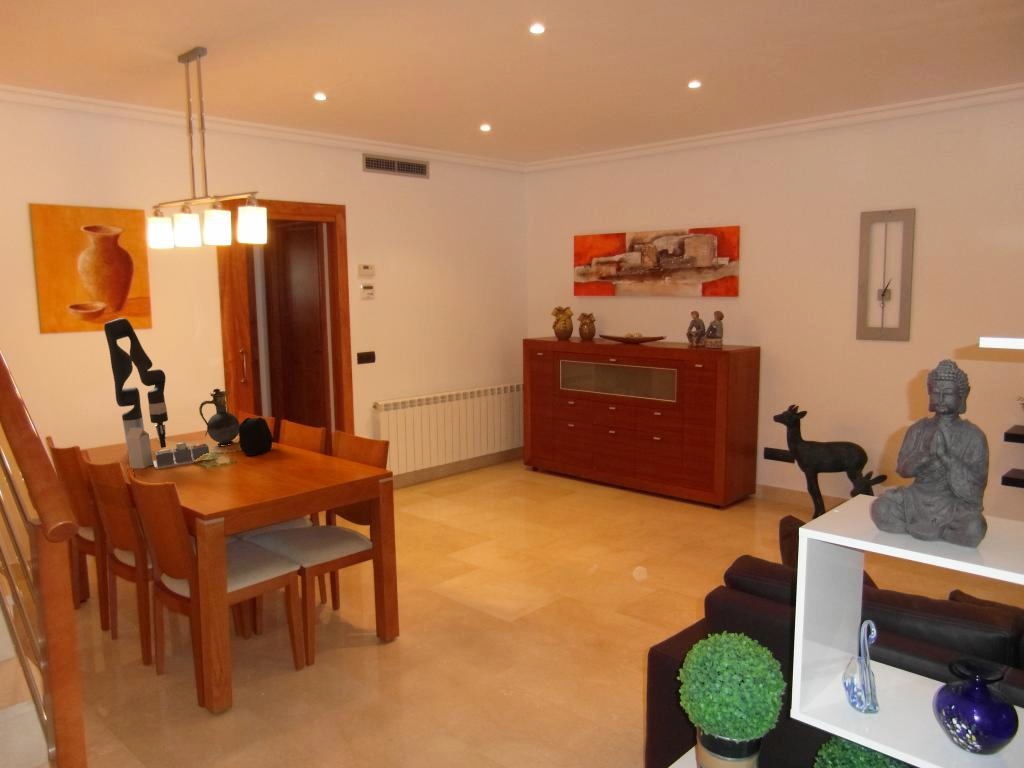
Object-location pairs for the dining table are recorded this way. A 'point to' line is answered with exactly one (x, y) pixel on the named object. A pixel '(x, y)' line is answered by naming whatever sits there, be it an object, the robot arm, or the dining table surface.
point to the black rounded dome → (255, 436)
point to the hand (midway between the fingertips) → (163, 447)
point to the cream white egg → (163, 451)
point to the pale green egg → (181, 446)
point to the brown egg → (199, 445)
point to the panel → (179, 457)
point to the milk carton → (139, 448)
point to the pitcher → (221, 420)
